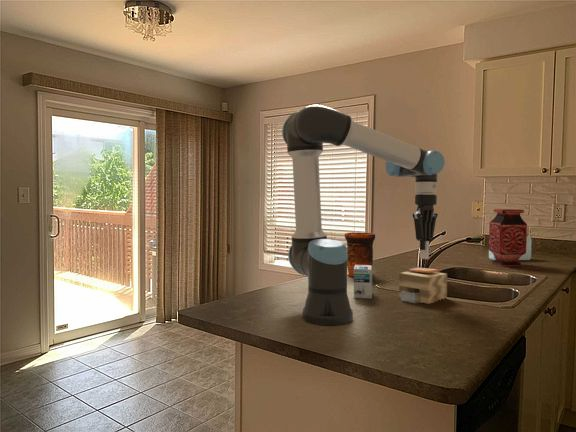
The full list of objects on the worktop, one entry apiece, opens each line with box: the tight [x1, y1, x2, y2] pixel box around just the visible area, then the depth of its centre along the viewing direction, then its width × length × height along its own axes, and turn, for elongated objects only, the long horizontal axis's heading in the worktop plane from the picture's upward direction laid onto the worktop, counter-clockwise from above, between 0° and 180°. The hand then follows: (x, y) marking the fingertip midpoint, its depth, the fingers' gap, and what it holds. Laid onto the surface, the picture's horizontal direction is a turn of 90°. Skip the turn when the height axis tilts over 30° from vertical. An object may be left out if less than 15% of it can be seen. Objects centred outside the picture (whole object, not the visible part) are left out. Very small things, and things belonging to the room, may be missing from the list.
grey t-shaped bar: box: [400, 290, 421, 304], centre depth 155 cm, size 17×6×3 cm, turn 130°
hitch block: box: [398, 270, 448, 305], centre depth 155 cm, size 12×12×9 cm
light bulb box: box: [353, 264, 373, 300], centre depth 159 cm, size 11×7×11 cm, turn 168°
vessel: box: [344, 231, 376, 278], centre depth 201 cm, size 14×14×20 cm
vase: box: [488, 208, 528, 267], centre depth 229 cm, size 14×14×30 cm
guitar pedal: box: [488, 236, 533, 261], centre depth 250 cm, size 23×6×13 cm, turn 97°
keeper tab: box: [407, 266, 439, 273], centre depth 157 cm, size 9×6×1 cm
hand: (424, 258), depth 156 cm, fingers closed
